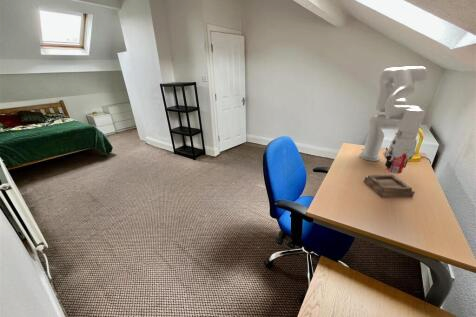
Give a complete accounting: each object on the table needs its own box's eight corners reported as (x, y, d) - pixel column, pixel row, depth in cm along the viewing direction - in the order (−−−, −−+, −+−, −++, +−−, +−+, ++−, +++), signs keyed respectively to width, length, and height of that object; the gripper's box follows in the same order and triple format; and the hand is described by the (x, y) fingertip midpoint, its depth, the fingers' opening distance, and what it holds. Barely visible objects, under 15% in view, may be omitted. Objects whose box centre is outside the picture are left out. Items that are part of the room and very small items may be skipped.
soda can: (396, 168, 109) (403, 148, 103) (404, 174, 102) (413, 153, 97) (382, 168, 109) (389, 147, 104) (389, 174, 103) (397, 153, 98)
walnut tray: (363, 181, 118) (365, 174, 116) (390, 180, 118) (392, 173, 116) (382, 197, 103) (385, 190, 101) (412, 196, 104) (415, 189, 102)
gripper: (394, 137, 93) (383, 170, 101) (430, 136, 94) (416, 169, 101) (383, 132, 100) (373, 164, 108) (417, 131, 101) (405, 163, 108)
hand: (394, 166), depth 105 cm, fingers closed on soda can, 7 cm apart
